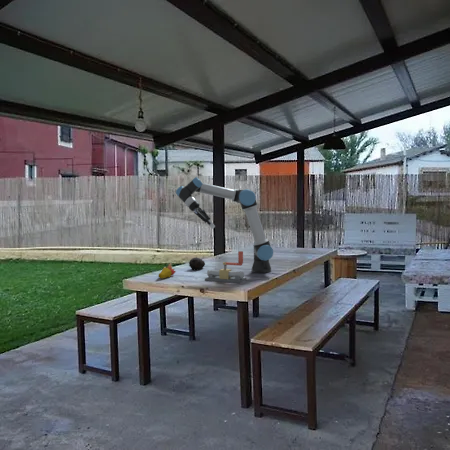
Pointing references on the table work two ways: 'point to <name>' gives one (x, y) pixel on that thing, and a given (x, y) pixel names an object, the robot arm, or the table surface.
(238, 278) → the valve base
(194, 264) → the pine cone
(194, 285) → the table surface
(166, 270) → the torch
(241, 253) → the lever
